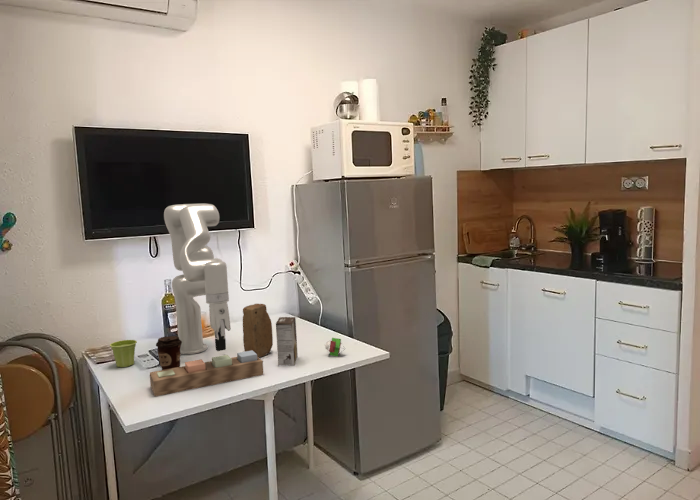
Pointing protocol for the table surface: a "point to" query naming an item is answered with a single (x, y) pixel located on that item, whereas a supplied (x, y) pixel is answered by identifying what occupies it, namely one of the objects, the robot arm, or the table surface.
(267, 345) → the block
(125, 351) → the plant pot
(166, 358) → the coffee cup
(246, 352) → the slate button
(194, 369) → the terracotta button
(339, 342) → the geometric puzzle
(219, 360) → the sage button
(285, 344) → the coffee box
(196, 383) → the button panel
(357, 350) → the table surface
